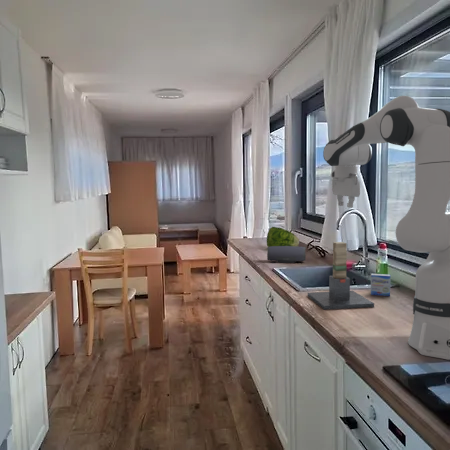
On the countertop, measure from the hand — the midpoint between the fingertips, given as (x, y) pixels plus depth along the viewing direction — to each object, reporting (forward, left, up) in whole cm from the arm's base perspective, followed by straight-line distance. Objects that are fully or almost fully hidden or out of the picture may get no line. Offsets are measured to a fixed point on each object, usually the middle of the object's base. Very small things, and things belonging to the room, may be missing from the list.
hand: (345, 206), depth 180 cm
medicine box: (-11, -11, -38) cm, 41 cm away
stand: (-3, +10, -38) cm, 39 cm away
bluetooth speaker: (+63, -47, -38) cm, 87 cm away
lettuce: (+93, -86, -38) cm, 132 cm away
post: (-3, +10, -30) cm, 32 cm away
